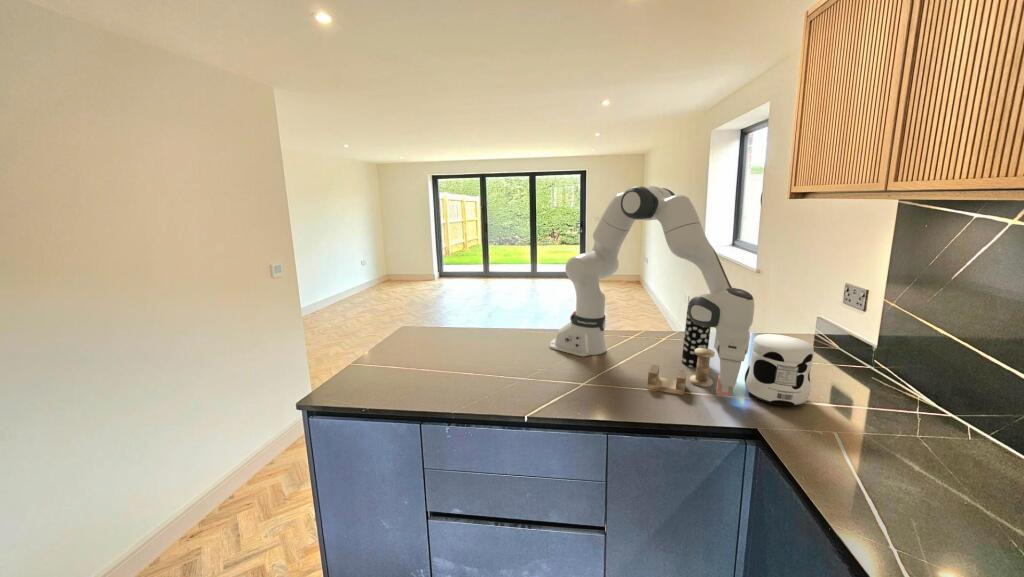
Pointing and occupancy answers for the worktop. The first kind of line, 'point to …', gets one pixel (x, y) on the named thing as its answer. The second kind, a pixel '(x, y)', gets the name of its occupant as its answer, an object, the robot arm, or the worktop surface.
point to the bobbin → (702, 368)
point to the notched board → (666, 381)
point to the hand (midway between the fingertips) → (724, 387)
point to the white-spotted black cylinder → (694, 342)
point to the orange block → (721, 387)
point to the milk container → (780, 369)
